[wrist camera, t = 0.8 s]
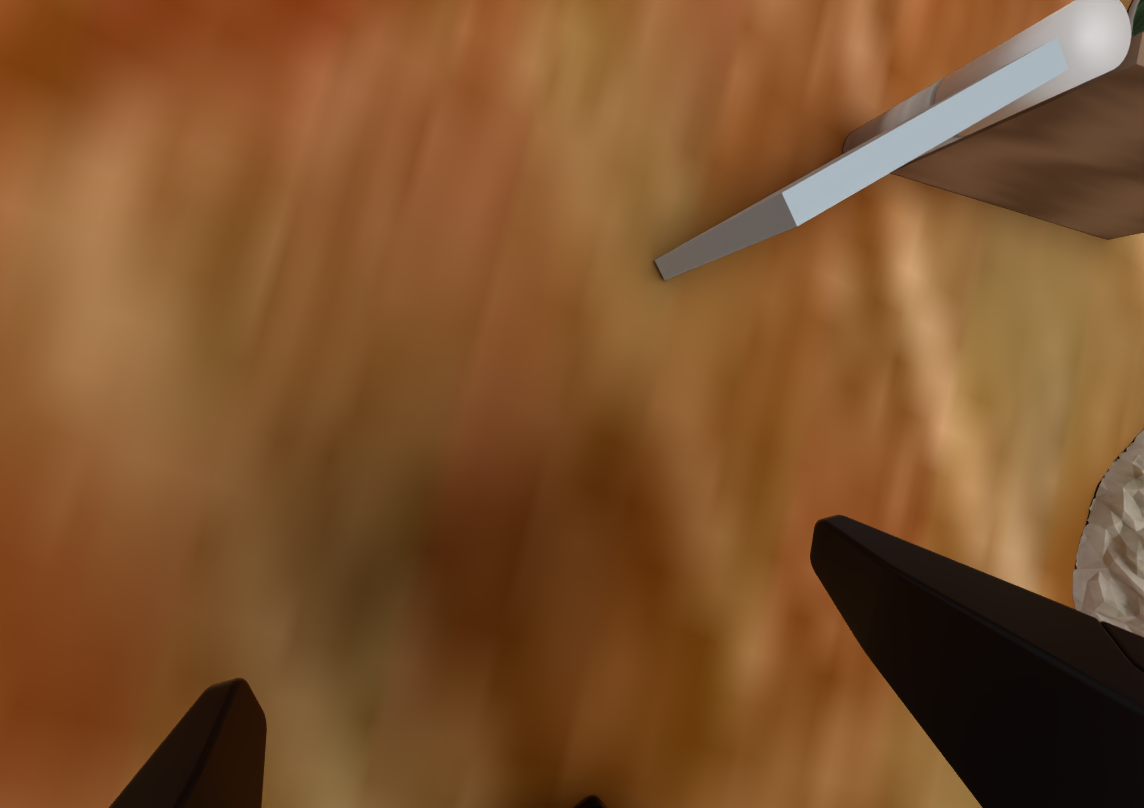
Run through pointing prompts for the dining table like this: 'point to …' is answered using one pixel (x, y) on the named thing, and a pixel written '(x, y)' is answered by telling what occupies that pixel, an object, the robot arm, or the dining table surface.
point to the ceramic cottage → (1115, 546)
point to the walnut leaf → (1047, 153)
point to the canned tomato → (1136, 17)
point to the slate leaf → (935, 122)
